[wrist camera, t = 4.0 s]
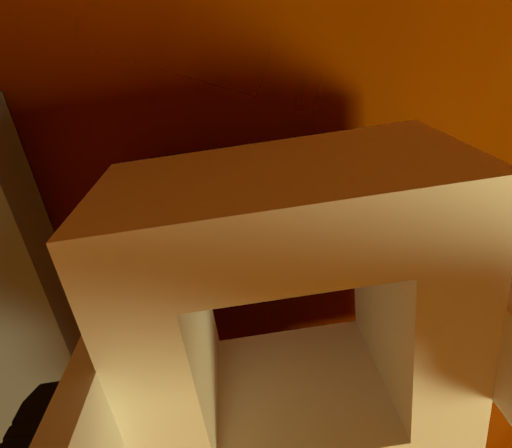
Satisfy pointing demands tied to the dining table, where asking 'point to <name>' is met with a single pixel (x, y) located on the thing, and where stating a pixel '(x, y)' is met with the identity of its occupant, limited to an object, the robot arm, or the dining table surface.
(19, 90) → the dining table surface
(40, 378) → the post board
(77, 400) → the robot arm
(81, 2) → the dining table surface
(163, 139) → the dining table surface
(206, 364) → the square ring
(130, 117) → the dining table surface
